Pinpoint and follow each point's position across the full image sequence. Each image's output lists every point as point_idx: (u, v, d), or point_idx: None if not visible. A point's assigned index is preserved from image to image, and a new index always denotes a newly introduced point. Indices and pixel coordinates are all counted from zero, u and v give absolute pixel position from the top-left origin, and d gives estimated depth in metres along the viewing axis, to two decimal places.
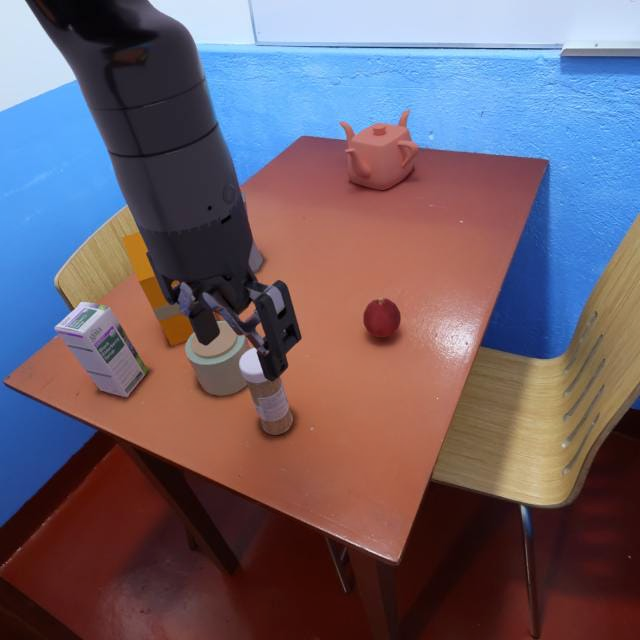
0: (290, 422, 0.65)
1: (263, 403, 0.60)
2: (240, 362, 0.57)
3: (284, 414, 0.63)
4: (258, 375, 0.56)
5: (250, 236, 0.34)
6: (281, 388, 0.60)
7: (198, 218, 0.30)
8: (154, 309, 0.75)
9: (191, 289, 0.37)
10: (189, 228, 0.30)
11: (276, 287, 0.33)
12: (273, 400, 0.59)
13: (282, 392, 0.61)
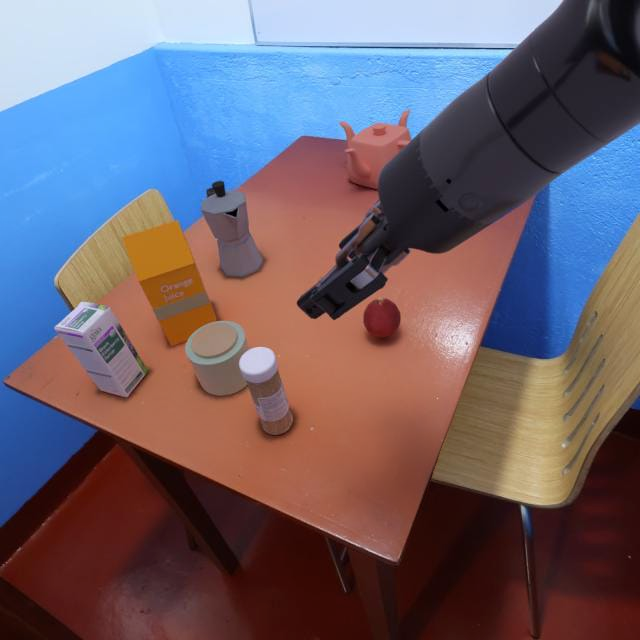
0: (290, 422, 0.65)
1: (263, 403, 0.60)
2: (240, 362, 0.57)
3: (284, 414, 0.63)
4: (258, 375, 0.56)
5: (435, 246, 0.31)
6: (281, 388, 0.60)
7: (435, 172, 0.27)
8: (154, 309, 0.75)
9: (379, 204, 0.35)
10: (424, 166, 0.28)
11: (377, 275, 0.30)
12: (273, 400, 0.59)
13: (282, 392, 0.61)
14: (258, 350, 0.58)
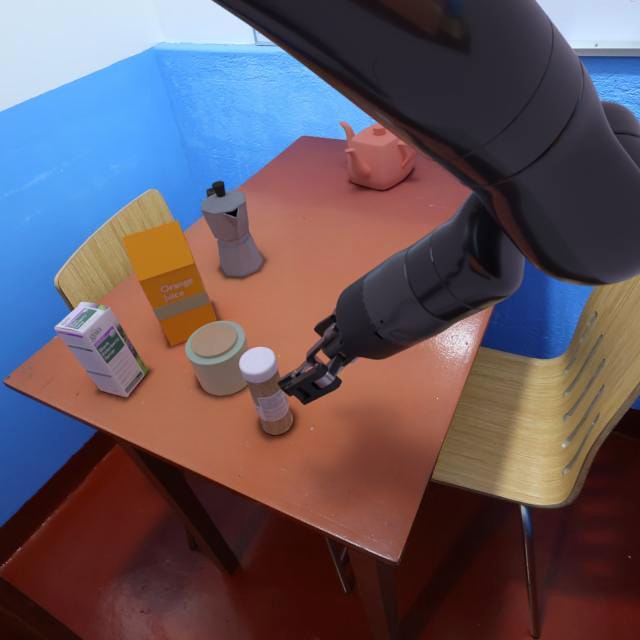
0: (290, 422, 0.65)
1: (263, 403, 0.60)
2: (240, 362, 0.57)
3: (284, 414, 0.63)
4: (258, 375, 0.56)
5: (378, 357, 0.41)
6: None
7: (373, 313, 0.38)
8: (154, 309, 0.75)
9: None
10: (365, 307, 0.38)
11: (333, 380, 0.41)
12: (273, 400, 0.59)
13: (282, 392, 0.61)
14: (258, 350, 0.58)
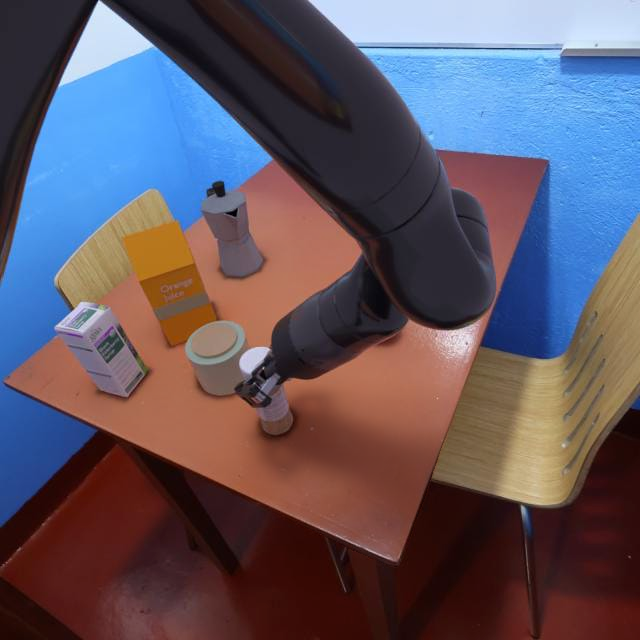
0: (290, 422, 0.65)
1: None
2: (240, 362, 0.57)
3: (284, 414, 0.63)
4: None
5: (306, 377, 0.49)
6: (281, 388, 0.60)
7: (296, 343, 0.45)
8: (154, 309, 0.75)
9: None
10: (291, 338, 0.46)
11: (263, 400, 0.49)
12: (273, 400, 0.59)
13: (282, 392, 0.61)
14: (258, 350, 0.58)
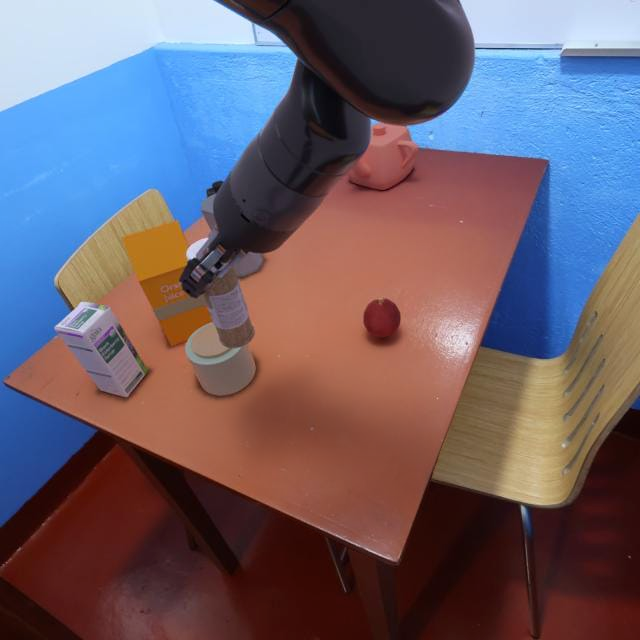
0: (251, 334, 0.57)
1: (216, 304, 0.52)
2: (187, 251, 0.50)
3: (242, 322, 0.55)
4: None
5: (254, 248, 0.41)
6: (237, 287, 0.53)
7: (236, 193, 0.38)
8: (154, 309, 0.75)
9: None
10: (231, 189, 0.38)
11: (203, 275, 0.42)
12: (227, 300, 0.52)
13: (239, 293, 0.53)
14: None
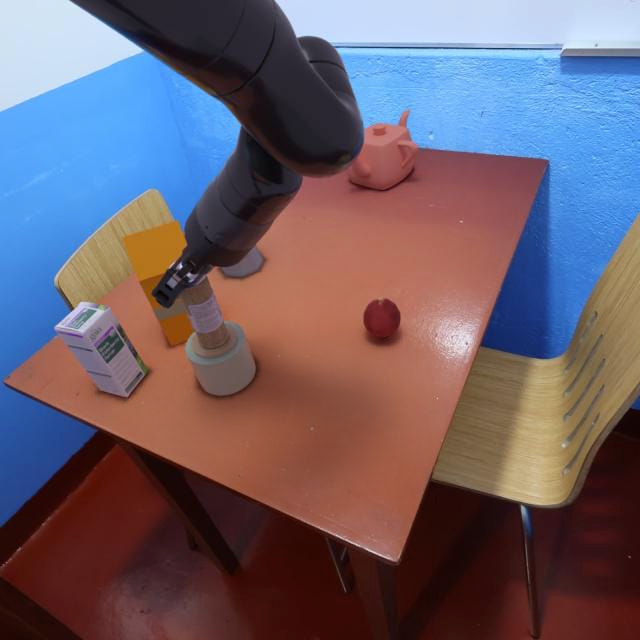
0: (225, 337, 0.68)
1: (194, 312, 0.62)
2: (169, 268, 0.60)
3: (217, 326, 0.65)
4: None
5: (217, 263, 0.51)
6: (212, 298, 0.63)
7: (201, 221, 0.48)
8: (154, 309, 0.75)
9: None
10: (197, 217, 0.48)
11: (180, 280, 0.51)
12: (203, 308, 0.62)
13: (214, 302, 0.63)
14: None
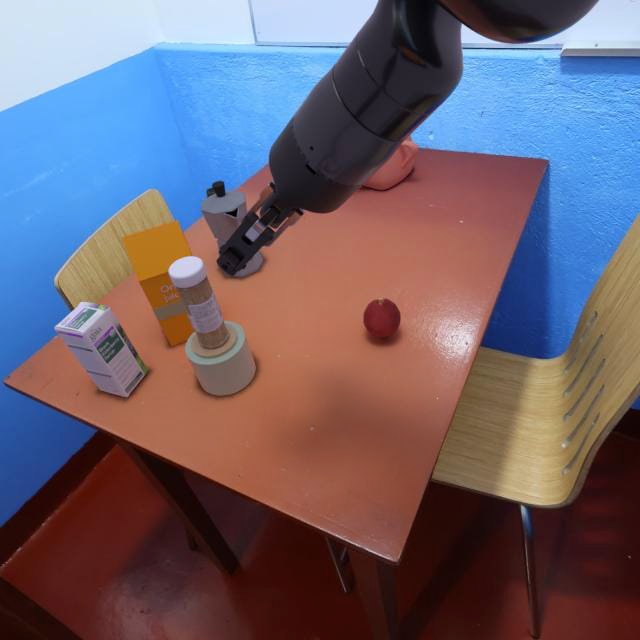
0: (225, 337, 0.68)
1: (194, 312, 0.62)
2: (169, 268, 0.60)
3: (217, 326, 0.65)
4: (185, 279, 0.58)
5: (315, 206, 0.37)
6: (212, 298, 0.63)
7: (302, 141, 0.34)
8: (154, 309, 0.75)
9: None
10: (295, 136, 0.34)
11: (265, 229, 0.37)
12: (203, 308, 0.62)
13: (214, 302, 0.63)
14: (188, 259, 0.61)
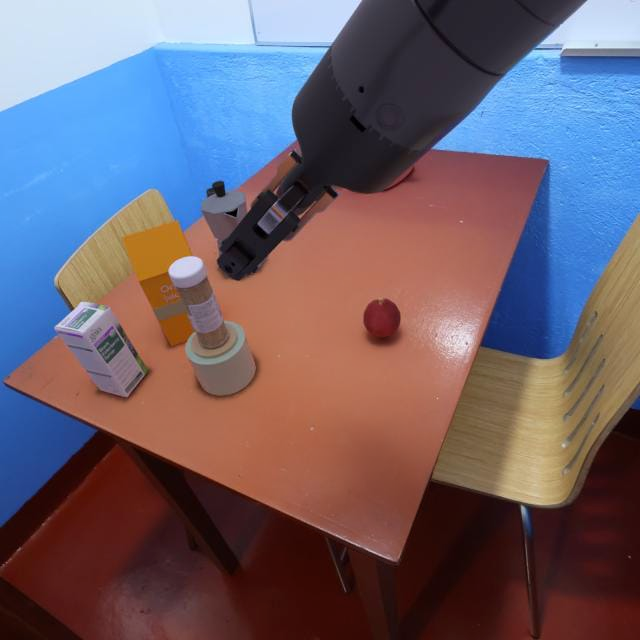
0: (225, 337, 0.68)
1: (194, 312, 0.62)
2: (169, 268, 0.60)
3: (217, 326, 0.65)
4: (185, 279, 0.58)
5: (358, 182, 0.26)
6: (212, 298, 0.63)
7: (346, 79, 0.22)
8: (154, 309, 0.75)
9: None
10: (335, 74, 0.23)
11: (286, 215, 0.25)
12: (203, 308, 0.62)
13: (214, 302, 0.63)
14: (188, 259, 0.61)
